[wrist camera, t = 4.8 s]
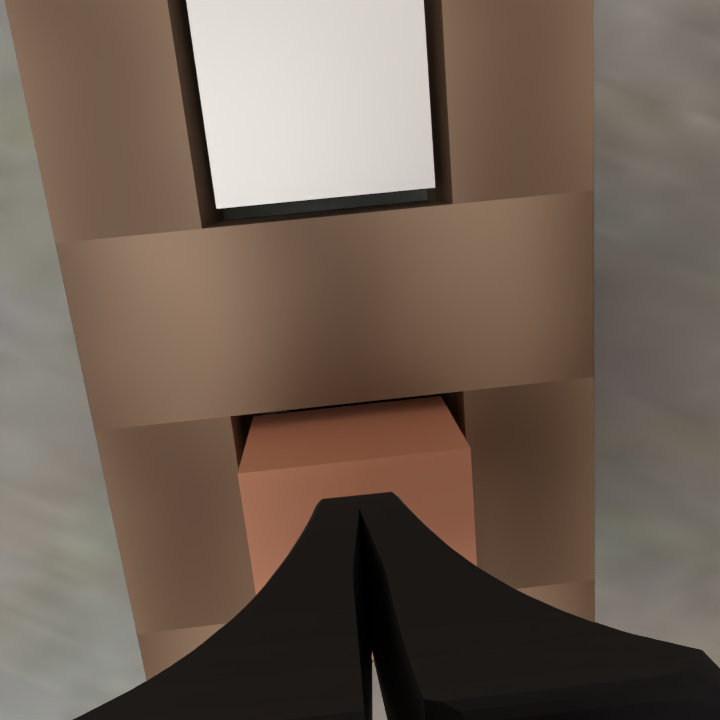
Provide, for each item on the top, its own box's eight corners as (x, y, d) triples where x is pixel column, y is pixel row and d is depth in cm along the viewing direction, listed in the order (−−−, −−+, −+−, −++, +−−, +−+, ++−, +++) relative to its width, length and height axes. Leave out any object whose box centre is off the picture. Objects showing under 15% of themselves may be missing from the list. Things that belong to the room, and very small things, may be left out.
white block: (399, -10, 17) (419, -58, 14) (413, 186, 18) (435, 187, 15) (208, 6, 17) (180, -38, 13) (235, 204, 18) (216, 208, 15)
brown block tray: (536, -115, 17) (592, -191, 13) (551, 563, 22) (594, 634, 18) (46, -75, 16) (-25, -142, 13) (175, 608, 21) (148, 689, 18)
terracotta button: (440, 395, 17) (470, 447, 14) (451, 561, 18) (481, 646, 15) (253, 416, 17) (237, 474, 14) (276, 581, 18) (267, 672, 15)
